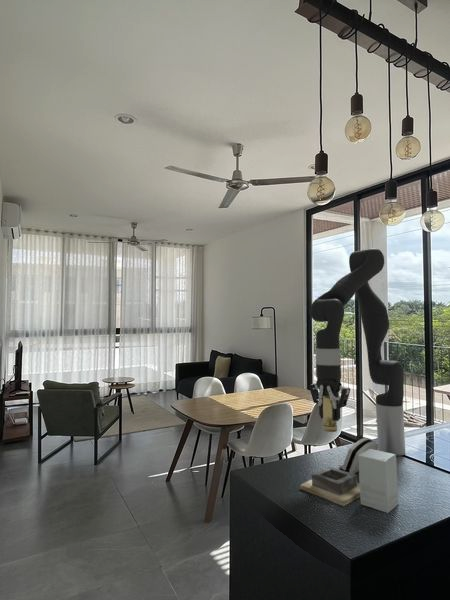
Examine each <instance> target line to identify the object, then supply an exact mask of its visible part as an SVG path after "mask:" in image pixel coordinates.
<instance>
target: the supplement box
mask: <svg viewBox="0 0 450 600" xmlns="http://www.w3.org/2000/svg"><path fill="white" fill-rule="evenodd" d="M358 462H359V471H358V475H359V477H358V478H359V479H358V480H359V481H358V482H359V484H360V497H359V498H360V505H363V506H365V507H369V508H372V509H375V510H378V511H380V512H383V513H387V514H389V513H390V512H391V511H392V510H393V509H394V508H395V507H397V506H399V503H400V502H399V487H398V486H399V484H398V471H397V470H398V469H397V467H398V466H397V456H396V454H392V453H387V452H382V451H378V449H377V450H373V449H368V450H367V451H365V452H363V453H361V454H360V455H358Z"/></svg>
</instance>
